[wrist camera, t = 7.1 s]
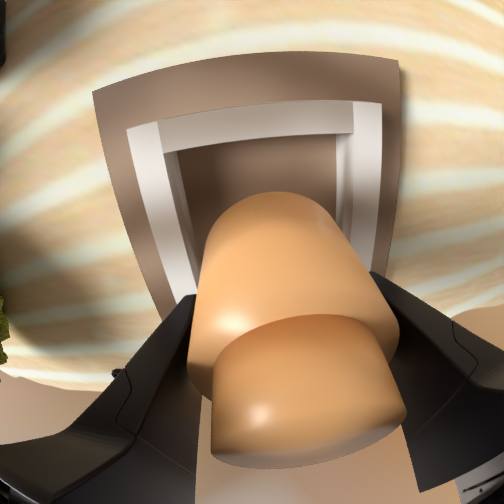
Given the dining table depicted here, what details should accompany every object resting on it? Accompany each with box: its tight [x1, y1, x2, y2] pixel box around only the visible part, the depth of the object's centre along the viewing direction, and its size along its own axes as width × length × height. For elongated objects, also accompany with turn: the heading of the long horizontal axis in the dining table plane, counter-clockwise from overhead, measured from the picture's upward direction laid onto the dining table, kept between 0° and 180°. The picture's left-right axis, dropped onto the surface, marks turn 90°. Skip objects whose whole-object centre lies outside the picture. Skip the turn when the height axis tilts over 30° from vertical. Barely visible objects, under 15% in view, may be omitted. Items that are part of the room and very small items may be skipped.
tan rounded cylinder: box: [187, 192, 407, 469], centre depth 7 cm, size 5×5×7 cm
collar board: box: [92, 51, 401, 321], centre depth 14 cm, size 16×16×4 cm
